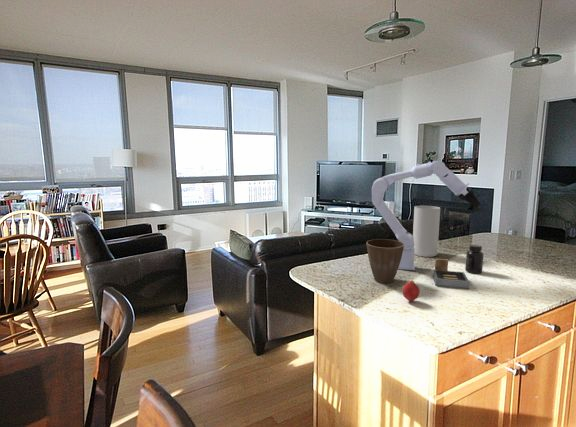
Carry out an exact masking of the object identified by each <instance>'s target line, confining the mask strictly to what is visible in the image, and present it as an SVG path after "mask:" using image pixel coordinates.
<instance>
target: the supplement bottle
mask: <svg viewBox="0 0 576 427" xmlns="http://www.w3.org/2000/svg"><path fill="white" fill-rule="evenodd" d="M468 247H469V248H468V249H469V250H467V251H466V254H465V267H464V270H465V272H467V273H469V274H473V275H474V274H476V275H479V274H480V275H481V274H482V273H483V268H484V267H483V266H484V258H485V257H484V255H485V254H484V253H483V251H482V250H483V249H482V248H483V246H482V245H480V244H469V246H468Z"/></svg>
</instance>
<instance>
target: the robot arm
mask: <svg viewBox="0 0 576 427" xmlns="http://www.w3.org/2000/svg"><path fill="white" fill-rule="evenodd" d="M432 175H436V177H438V178H439V180H440V181H441V182H442V183H443V184H444V185H445V186H446V188H448V189H449V190H450V191H451V192H452V193H453V194H454V195H455V196H457V198H459V199H460V200H462V201H465V202H467V203H468V204H470V205H472V206H473V207H475V208H478V206H480V205H481V203H480V201H479V199H478V198H477V197H476V196H475V194H474V191H473V189H469V188H468V186H469V185H470V183H469V182H467V183H465V182H463V181H462V180H461V179H460V177H458V176H457V175H456V174H455V173H454V172H453V170H450V169H449V168H448V167H447V166H446V164H445V162H443V161H441V160H433V161H432V162H431V161H428V162H427V163H422V164H420V163H417V164H416V165H414V166H413V167H412V168H411V169H409V170H405V171H399V172H395V173H391V174H388V175H387V174H386V175H384V176H382V177H379V178H377V179H376V180H374V181H373V183H372V186H371V204H372V205H373V206H374V207H375V209H376V210H377V211H378V212H379V214H380V216H381V217H382V218H383V220H384V221H385V222H386V223H387V225H388V227H389V228H390V229H391V230H392V232H393V234H394V235H395V237H396V240H397V241H400V242H402V243H404V248H403V253H402V258H401V261H400V265H399V268H398V270H406V271H407V270H408V271H416V266H415V254H414V252H415V248H414V237H413V233H410V232H408V231H407V229H405V227H403V225H402V223H401V222H400V221H399V220H398V218H397V216H396V215H395V214H394V213H393V212H392V210H391V208H389V206H388V205H387V204H386V202H385V200H384V196H385V192H386V190H387V189H388V187H389V186H391V185H392V184H393V183H394V182H397V181H400V180H404V179H408V178H414V179H416V180H417V179H421V178H426V177H430V176H432Z"/></svg>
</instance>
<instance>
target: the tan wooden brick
mask: <svg viewBox="0 0 576 427" xmlns="http://www.w3.org/2000/svg"><path fill="white" fill-rule="evenodd" d="M448 267H449V259H446V258H435V263H434V270H442V271H449V270H448V269H449V268H448Z"/></svg>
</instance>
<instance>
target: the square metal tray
mask: <svg viewBox="0 0 576 427" xmlns="http://www.w3.org/2000/svg"><path fill="white" fill-rule="evenodd" d="M432 279H433V283H434V285H435V287H442V288H444V287H445V288H452V289H453V288H454V289H463V290H469V288H470V280H469V279H468V277H467V275H466V274H465V272H464V271H454V270H453V271H452V270H448V271H442V270H435V269H433V270H432Z"/></svg>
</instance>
